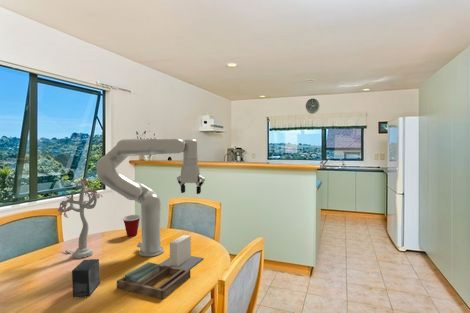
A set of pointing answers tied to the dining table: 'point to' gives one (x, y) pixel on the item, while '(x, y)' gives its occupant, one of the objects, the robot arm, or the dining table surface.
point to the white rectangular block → (180, 250)
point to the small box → (85, 278)
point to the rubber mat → (185, 263)
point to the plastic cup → (131, 224)
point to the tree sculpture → (83, 249)
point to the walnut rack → (162, 289)
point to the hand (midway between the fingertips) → (190, 193)
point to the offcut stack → (143, 273)
